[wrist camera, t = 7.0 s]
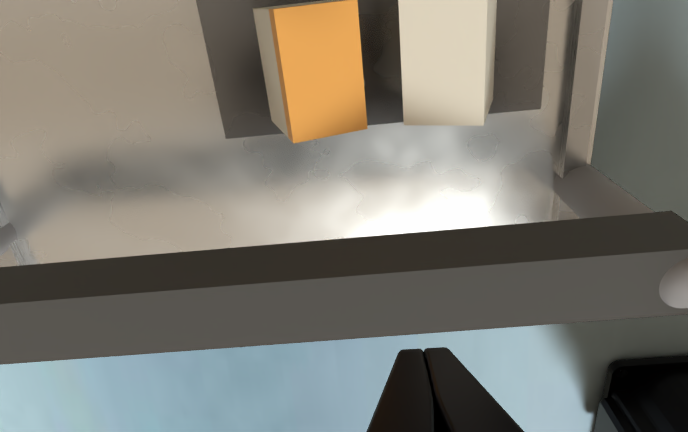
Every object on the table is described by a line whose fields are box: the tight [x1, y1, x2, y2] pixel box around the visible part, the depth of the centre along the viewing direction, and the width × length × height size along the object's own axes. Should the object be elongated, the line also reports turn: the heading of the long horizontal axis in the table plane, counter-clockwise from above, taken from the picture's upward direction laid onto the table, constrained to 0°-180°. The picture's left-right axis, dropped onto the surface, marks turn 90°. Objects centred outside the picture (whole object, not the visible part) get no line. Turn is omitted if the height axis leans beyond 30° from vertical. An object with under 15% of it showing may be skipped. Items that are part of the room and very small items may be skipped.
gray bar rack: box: [0, 163, 688, 364], centre depth 14 cm, size 25×13×8 cm, turn 96°
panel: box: [0, 0, 613, 267], centre depth 16 cm, size 24×16×2 cm, turn 96°
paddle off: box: [253, 0, 368, 143], centre depth 14 cm, size 2×3×3 cm, turn 5°
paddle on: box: [398, 0, 497, 126], centre depth 14 cm, size 2×3×3 cm, turn 6°
